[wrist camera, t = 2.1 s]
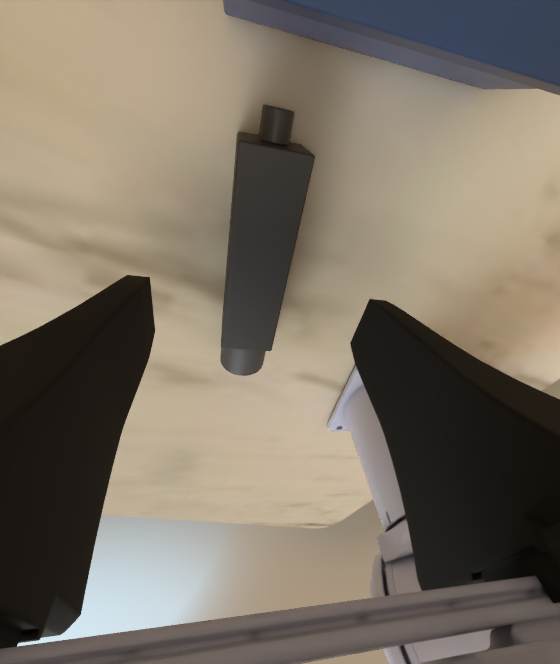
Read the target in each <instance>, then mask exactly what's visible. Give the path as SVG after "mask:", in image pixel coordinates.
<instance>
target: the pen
mask: <svg viewBox="0 0 560 664" xmlns="http://www.w3.org/2000/svg"><path fill="white" fill-rule="evenodd" d="M293 119H294V112H293V111H290V110H286V109H282V108H277V107H273V106H269V105H263V108H262V116H261V125H260V133H259V136H257V135H253V134H248V133H243V132H238V133H237V142H236V155H235V167H234V180H233V193H232V205H231V218H230V230H229V243H228V255H227V268H226V281H225V293H224V306H223V318H222V337H221V363H222V365H223V367H224V368H225V369H226V370H227V371H229V372H231V373H233V374H236V375H242V376H246V375H251V374H254V373H256V372H258V371H259V370H260V369H261V367H262V365H263V361H264V357H265V352H266V351H271V350H272V345H273V341H274V336H275V332H276V328H277V323H278V319H279V314H280V310H281V305H282V301H283V296H284V292H285V288H286V283H287V279H288V274H289V270H290V265H291V261H292V257H293V252H294V248H295V243H296V239H297V234H298V230H299V225H300V221H301V217H302V212H303V208H304V203H305V199H306V194H307V190H308V185H309V181H310V177H311V172H312V168H313V163H314V159H315V156H314V155H313V154H312V153H311V152H309V151H308V150H307V149H306V148H304V147H303V146H302V145H300V144H296V143H291V142H290V136H291V130H292V125H293Z"/></svg>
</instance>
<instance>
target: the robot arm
mask: <svg viewBox="0 0 560 664" xmlns="http://www.w3.org/2000/svg"><path fill="white" fill-rule="evenodd" d="M154 333H155V326H154V316H153V305H152V295H151V285H150V277H141V276H131V275H127V276H125V277H123V278H122V279H120V280H118V281H117V282H115V283H113V284H112V285H110V286H109V287H107V288H106V289H104V290H103V291H101V292H99V293H98V294H96V295H95V296H93V297H91V298H90V299H88V300H86V301H85V302H83V303H82V304H80V305H78V306H77V307H75V308H73V309H71V310H70V311H68V312H66V313H64V314H62V315H61V316H59V317H57V318H55V319H53V320H52V321H50V322H48V323H46V324H44V325H43V326H41V327H39V328H37V329H35V330H33V331H31V332H29V333H27V334H25V335H23V336H21V337H18V338H16V339H14V340H12V341H10V342H7V343H5V344H3V345H1V346H0V664H301V663H306V662H312V661H317V660H323V659H328V658H334V657H340V656H345V655H351V654H357V653H362V652H368V651H373V650H379V649H384V652H385V655H386V658H387V660H388V663H389V664H560V399H557V398H555V397H553V396H550V395H548V394H546V393H544V392H542V391H539V390H537V389H535V388H533V387H531V386H529V385H527V384H524V383H522V382H520V381H518V380H516V379H514V378H512V377H510V376H508V375H506V374H504V373H502V372H501V371H499V370H497V369H495V368H493V367H491V366H489V365H488V364H486V363H484V362H482V361H480V360H479V359H477V358H475V357H473V356H472V355H470V354H468V353H467V352H465V351H464V350H462V349H460V348H459V347H457V346H456V345H454V344H452V343H451V342H449V341H448V340H446V339H445V338H443V337H442V336H440V335H439V334H437V333H436V332H434V331H433V330H431V329H430V328H428V327H427V326H425V325H424V324H422V323H421V322H419V321H418V320H416V319H415V318H413V317H412V316H410V315H409V314H407V313H406V312H404V311H403V310H401V309H400V308H398V307H396V306H395V305H393V304H391V303H389V302H387V301H384V300H374V299H370V300H369V302H368V304H367V306H366V309H365V311H364V313H363V316H362V318H361V320H360V322H359V325H358V327H357V329H356V331H355V334H354V336H353V338H352V341H351V343H350V344H351V348H352V352H353V357H354V360H355V364H356V366H355V368H354V370H353V372H352V374H351V376H350V379H349V381H348V383H347V385H346V387H345V389H344V391H343V393H342V395H341V397H340V399H339V401H338V403H337V405H336V407H335V410H334V412H333V414H332V416H331V418H330V420H329V422H328V424H327V427H328V429H329V430H330V431H350V432H351V435H352V438H353V441H354V444H355V447H356V450H357V453H358V456H359V458H360V461H361V464H362V467H363V470H364V473H365V476H366V479H367V482H368V485H369V488H370V491H371V494H372V497H373V499H374V502H375V505H376V508H377V511H378V514H379V517H380V520H381V523H382V526H383V529H384V532H385V533H383V534H381V535H379V536H377V537H376V539H377V542H378V545H379V548H380V553H378V554H377V555H376V556H375V559H374V561H373V567H372V573H371V579H370V591H371V598H368V599H361V600H353V601H347V602H340V603H332V604H324V605H318V606H310V607H302V608H295V609H288V610H281V611H274V612H266V613H259V614H251V615H245V616H237V617H230V618H223V619H215V620H208V621H201V622H194V623H187V624H179V625H171V626H164V627H157V628H150V629H142V630H135V631H128V632H120V633H113V634H106V635H98V636H92V637H84V638H77V639H69V640H62V641H55V642H47V643H40V644H33V645H26V646H19V647H17V644H18V643H21V642H28V641H36V640H39V639H40V638H41V637H49V636H56V635H61V634H62V633H64V632H65V631H66V630H67V629H68V628H69V627H70V626H71V625H72V624H73V623H74V622H75V621H76V619H77V618H78V617H79V616H80V615H81V610H82V605H83V600H84V594H85V589H86V584H87V579H88V575H89V570H90V564H91V560H92V555H93V550H94V545H95V540H96V536H97V531H98V527H99V522H100V518H101V513H102V509H103V504H104V500H105V496H106V492H107V488H108V483H109V479H110V475H111V471H112V467H113V463H114V459H115V455H116V451H117V448H118V444H119V440H120V436H121V433H122V430H123V427H124V424H125V421H126V418H127V415H128V413H129V410H130V407H131V405H132V402H133V399H134V397H135V394H136V392H137V389H138V386H139V384H140V381H141V378H142V376H143V373H144V370H145V368H146V365H147V362H148V359H149V356H150V352H151V347H152V343H153V338H154Z"/></svg>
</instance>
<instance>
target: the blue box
mask: <svg viewBox="0 0 560 664" xmlns="http://www.w3.org/2000/svg"><path fill="white" fill-rule="evenodd" d="M223 3H224V11H225V13H226V14H227V15H230V16H234V17H237V18H241V19H244V20H248V21H251V22H255V23H258V24H261V25H265V26H268V27H272V28H275V29H279V30H282V31H286V32H289V33H292V34H296V35H299V36H303V37H306V38H310V39H313V40H317V41H320V42H323V43H327V44H330V45H334V46H337V47H341V48H344V49H348V50H351V51H354V52H358V53H361V54H365V55H368V56H372V57H375V58H379V59H382V60H385V61H389V62H392V63H396V64H399V65H403V66H406V67H410V68H413V69H417V70H420V71H423V72H427V73H430V74H434V75H437V76H441V77H444V78H448V79H451V80H454V81H458V82H461V83H465V84H468V85H472V86H475V87H479V88H482V89H541V90H544V91H547V92H551V93H554V94H557V95H560V0H223Z"/></svg>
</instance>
